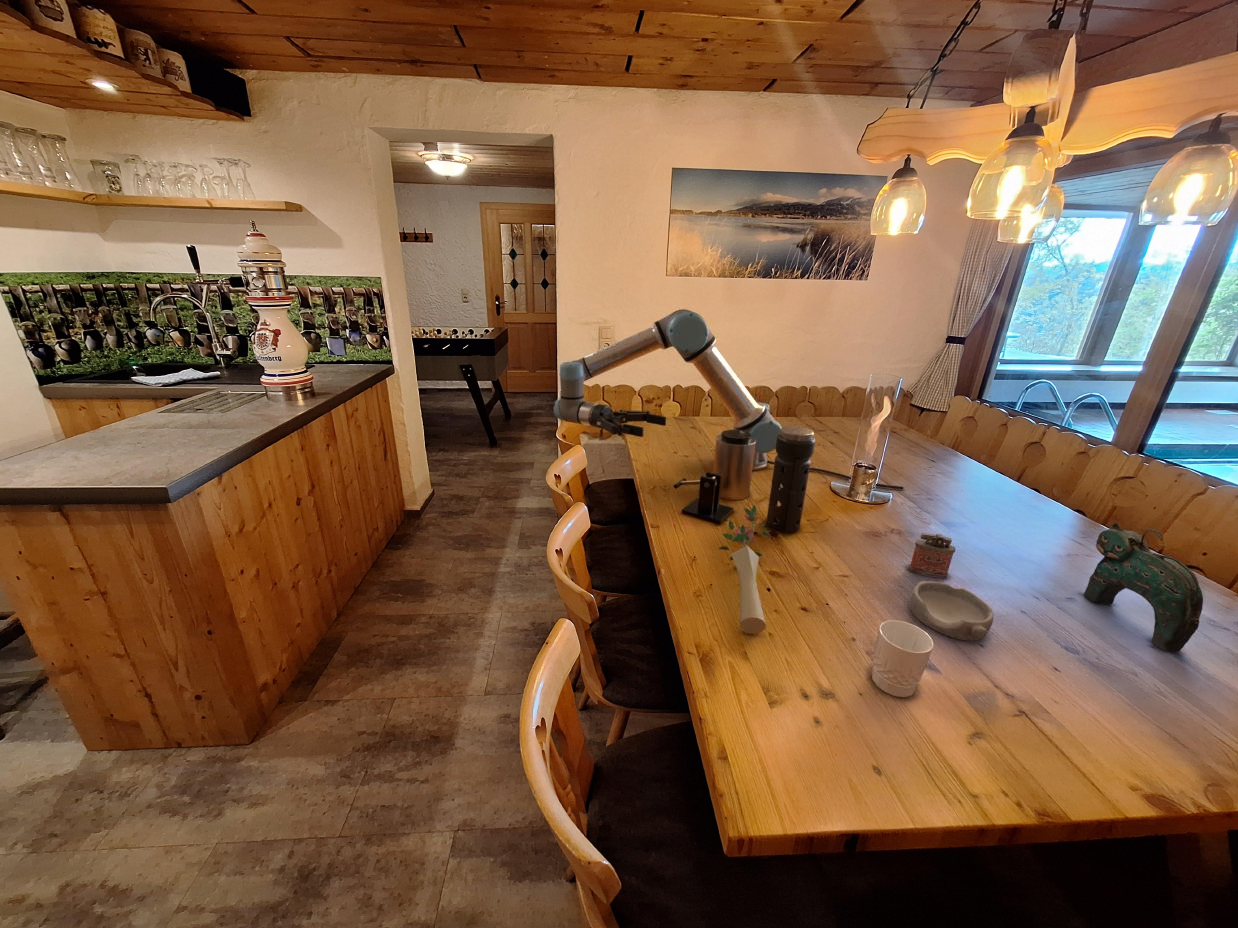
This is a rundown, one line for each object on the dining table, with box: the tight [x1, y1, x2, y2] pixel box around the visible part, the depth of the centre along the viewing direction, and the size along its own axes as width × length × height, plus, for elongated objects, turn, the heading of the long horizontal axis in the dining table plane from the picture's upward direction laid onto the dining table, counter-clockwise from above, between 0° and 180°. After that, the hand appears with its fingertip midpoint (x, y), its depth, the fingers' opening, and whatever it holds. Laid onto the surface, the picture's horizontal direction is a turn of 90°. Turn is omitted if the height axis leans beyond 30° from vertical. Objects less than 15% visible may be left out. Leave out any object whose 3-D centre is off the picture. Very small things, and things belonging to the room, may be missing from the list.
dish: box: [909, 580, 995, 641], centre depth 99 cm, size 14×14×5 cm
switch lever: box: [672, 476, 717, 490], centre depth 143 cm, size 12×6×2 cm, turn 56°
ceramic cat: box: [1083, 522, 1204, 652], centre depth 97 cm, size 20×6×20 cm, turn 178°
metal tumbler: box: [712, 429, 756, 501], centre depth 154 cm, size 12×12×20 cm
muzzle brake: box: [765, 425, 816, 534], centre depth 131 cm, size 10×28×10 cm
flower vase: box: [718, 504, 772, 635], centre depth 110 cm, size 12×12×35 cm
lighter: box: [908, 532, 956, 579], centre depth 114 cm, size 8×3×10 cm, turn 71°
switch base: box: [681, 471, 735, 526], centre depth 141 cm, size 12×10×12 cm
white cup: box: [870, 619, 935, 698], centre depth 83 cm, size 8×8×10 cm
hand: (654, 426), depth 145 cm, fingers open, 13 cm apart
